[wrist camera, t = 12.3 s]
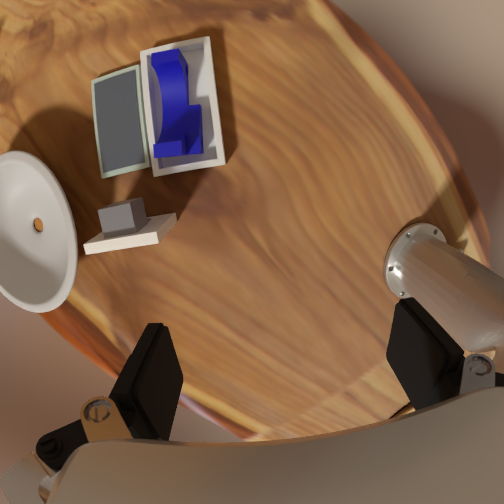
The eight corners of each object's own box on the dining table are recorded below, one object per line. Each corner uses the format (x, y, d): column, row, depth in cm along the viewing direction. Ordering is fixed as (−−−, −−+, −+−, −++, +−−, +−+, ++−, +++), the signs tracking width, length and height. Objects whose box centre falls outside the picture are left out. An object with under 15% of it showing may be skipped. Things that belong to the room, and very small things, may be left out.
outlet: (171, 188, 34) (149, 199, 25) (177, 221, 35) (158, 243, 27) (109, 200, 34) (76, 216, 25) (116, 231, 35) (86, 254, 27)
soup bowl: (4, 278, 37) (-16, 293, 31) (-3, 149, 29) (-28, 153, 23) (102, 307, 39) (84, 330, 33) (105, 149, 31) (80, 150, 25)
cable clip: (203, 153, 32) (196, 153, 26) (168, 157, 32) (154, 158, 26) (200, 62, 28) (192, 46, 22) (164, 67, 28) (151, 53, 22)
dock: (211, 42, 27) (209, 36, 25) (226, 163, 33) (225, 164, 31) (145, 57, 27) (140, 51, 25) (159, 175, 33) (153, 177, 31)
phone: (141, 66, 28) (138, 64, 27) (152, 166, 33) (149, 167, 31) (95, 82, 28) (90, 80, 26) (105, 177, 33) (101, 178, 31)
